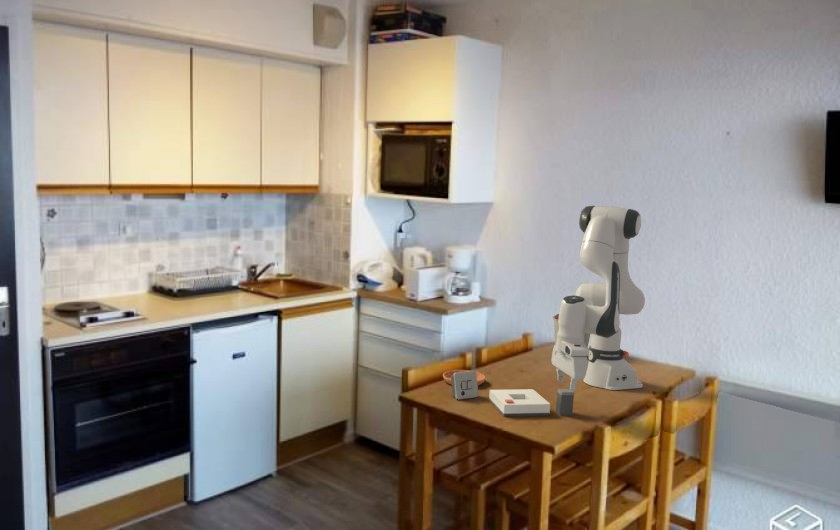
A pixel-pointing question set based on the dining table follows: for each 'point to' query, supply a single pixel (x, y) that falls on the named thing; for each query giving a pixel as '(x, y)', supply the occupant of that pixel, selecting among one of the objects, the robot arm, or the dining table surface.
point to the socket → (519, 402)
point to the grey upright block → (564, 401)
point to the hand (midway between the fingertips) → (566, 385)
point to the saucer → (448, 374)
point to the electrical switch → (464, 385)
